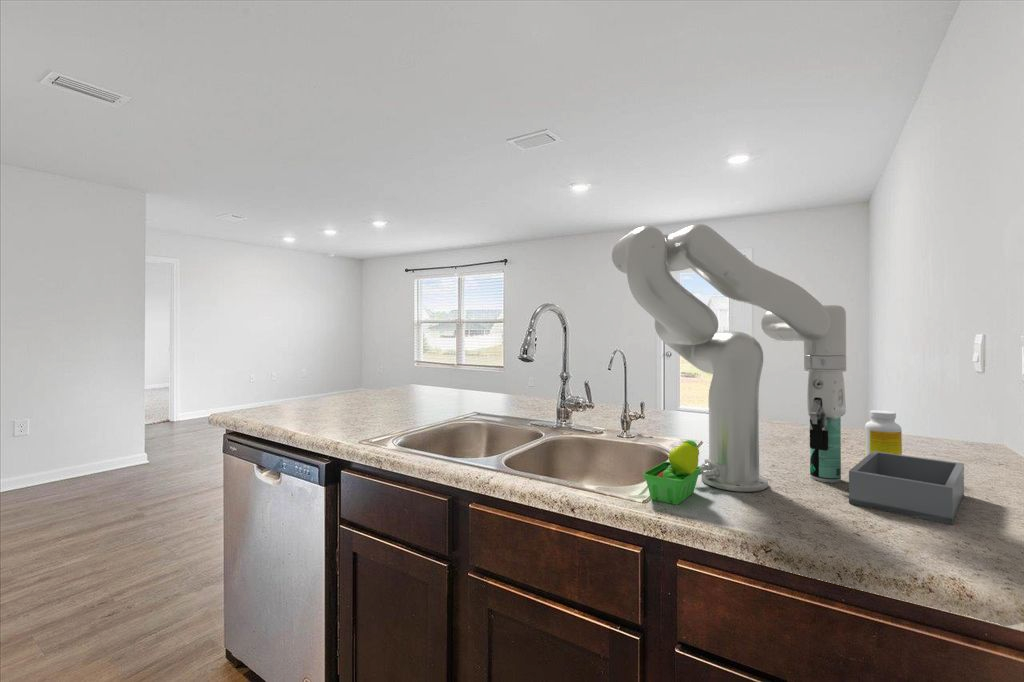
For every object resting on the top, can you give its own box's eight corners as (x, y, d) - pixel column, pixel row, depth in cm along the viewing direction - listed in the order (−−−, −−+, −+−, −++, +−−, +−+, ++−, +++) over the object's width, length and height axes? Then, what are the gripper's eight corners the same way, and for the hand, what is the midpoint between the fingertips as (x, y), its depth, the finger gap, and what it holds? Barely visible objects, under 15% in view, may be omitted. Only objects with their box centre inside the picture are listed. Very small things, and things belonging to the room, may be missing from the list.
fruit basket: (665, 484, 101) (664, 431, 100) (708, 493, 95) (708, 436, 95) (641, 500, 92) (641, 441, 92) (688, 510, 86) (687, 447, 86)
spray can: (838, 476, 104) (837, 384, 103) (843, 484, 99) (842, 386, 99) (808, 473, 106) (808, 383, 106) (812, 481, 101) (811, 386, 101)
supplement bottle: (908, 472, 106) (908, 414, 106) (874, 471, 107) (874, 413, 107) (891, 464, 112) (891, 409, 112) (859, 463, 114) (859, 409, 113)
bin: (952, 525, 78) (952, 488, 78) (849, 503, 88) (848, 470, 88) (963, 494, 92) (963, 463, 91) (873, 479, 102) (873, 450, 102)
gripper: (834, 367, 93) (834, 456, 94) (856, 362, 105) (856, 441, 106) (791, 365, 99) (792, 450, 99) (816, 360, 111) (817, 436, 111)
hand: (825, 445), depth 102 cm, fingers open, 8 cm apart
